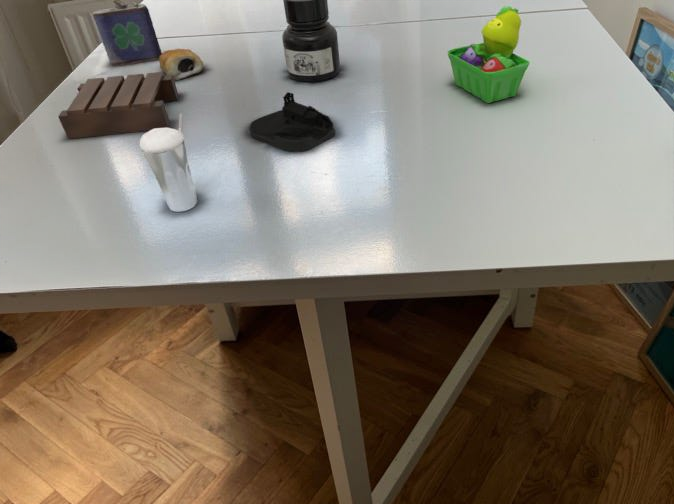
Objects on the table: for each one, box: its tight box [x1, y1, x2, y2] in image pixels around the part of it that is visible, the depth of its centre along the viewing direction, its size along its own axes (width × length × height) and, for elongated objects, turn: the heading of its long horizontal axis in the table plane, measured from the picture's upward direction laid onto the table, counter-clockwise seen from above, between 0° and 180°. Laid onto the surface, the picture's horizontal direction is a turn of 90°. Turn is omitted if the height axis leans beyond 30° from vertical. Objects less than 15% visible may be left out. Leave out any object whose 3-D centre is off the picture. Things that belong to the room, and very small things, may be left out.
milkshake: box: [138, 112, 198, 213], centre depth 61 cm, size 4×5×10 cm
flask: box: [92, 0, 163, 67], centre depth 99 cm, size 9×3×11 cm, turn 109°
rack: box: [57, 71, 180, 140], centre depth 82 cm, size 14×12×4 cm
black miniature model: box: [248, 91, 336, 153], centre depth 76 cm, size 12×10×5 cm
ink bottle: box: [281, 0, 341, 82], centre depth 89 cm, size 10×9×12 cm
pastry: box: [158, 48, 204, 81], centre depth 96 cm, size 9×7×4 cm
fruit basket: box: [446, 5, 531, 104], centre depth 81 cm, size 11×9×11 cm
